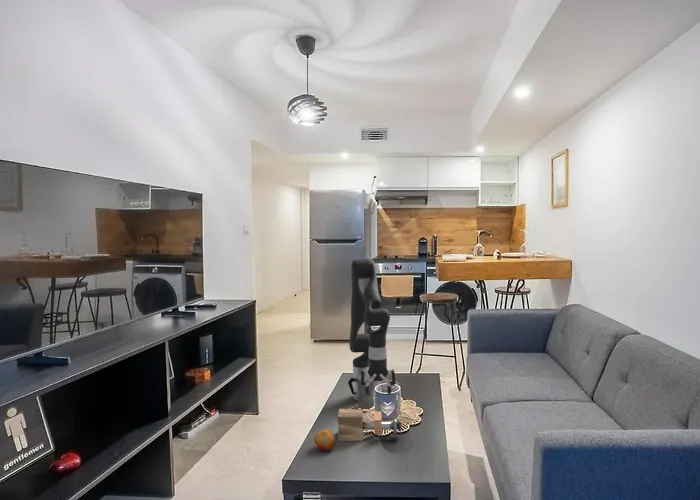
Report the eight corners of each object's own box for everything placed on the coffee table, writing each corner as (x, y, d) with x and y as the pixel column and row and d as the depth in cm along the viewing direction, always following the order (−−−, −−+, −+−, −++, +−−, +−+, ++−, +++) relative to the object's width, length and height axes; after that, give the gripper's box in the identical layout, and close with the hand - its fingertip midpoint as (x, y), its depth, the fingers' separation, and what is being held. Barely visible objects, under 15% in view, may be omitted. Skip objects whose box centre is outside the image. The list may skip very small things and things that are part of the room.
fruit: (338, 438, 178) (335, 427, 174) (333, 457, 172) (330, 445, 168) (320, 436, 180) (316, 425, 176) (314, 454, 174) (310, 442, 170)
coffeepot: (375, 401, 218) (374, 366, 216) (382, 409, 209) (381, 372, 207) (346, 406, 213) (345, 370, 212) (351, 414, 204) (351, 376, 203)
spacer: (374, 425, 186) (374, 411, 185) (381, 425, 186) (381, 411, 185) (374, 434, 179) (374, 420, 178) (381, 434, 179) (381, 420, 178)
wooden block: (339, 431, 187) (339, 408, 187) (363, 431, 187) (362, 408, 186) (338, 440, 179) (337, 417, 179) (362, 440, 179) (362, 417, 178)
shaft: (358, 428, 186) (357, 416, 185) (400, 429, 185) (400, 416, 184) (357, 435, 180) (357, 422, 180) (401, 435, 179) (401, 422, 179)
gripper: (394, 353, 184) (394, 391, 185) (360, 353, 185) (361, 391, 186) (395, 359, 176) (395, 398, 177) (360, 359, 177) (361, 398, 178)
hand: (378, 394), depth 181 cm, fingers open, 8 cm apart
